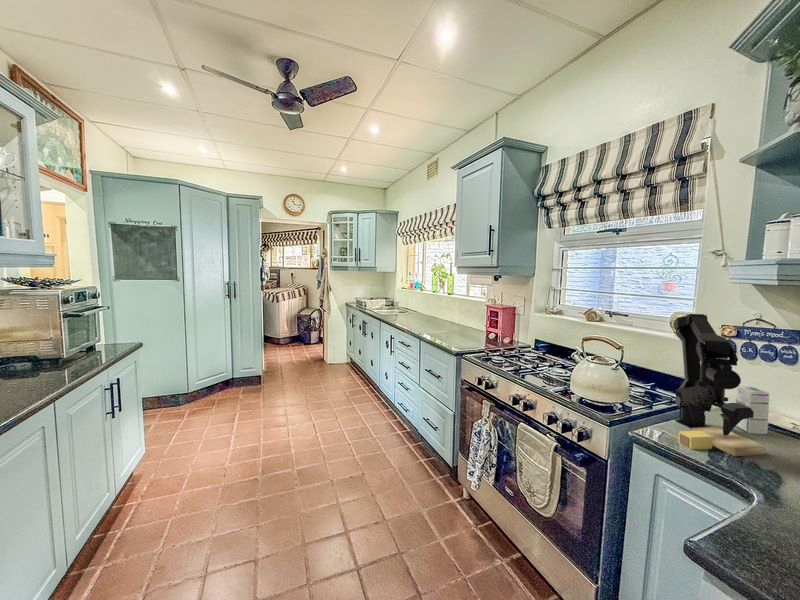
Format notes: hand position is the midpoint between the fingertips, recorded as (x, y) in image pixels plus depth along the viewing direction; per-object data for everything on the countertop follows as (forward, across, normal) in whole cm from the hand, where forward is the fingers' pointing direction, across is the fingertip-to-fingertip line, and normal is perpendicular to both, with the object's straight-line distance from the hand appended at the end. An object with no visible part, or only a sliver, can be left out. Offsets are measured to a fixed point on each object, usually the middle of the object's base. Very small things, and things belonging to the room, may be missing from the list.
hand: (709, 428), depth 101 cm
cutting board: (+6, 0, +6) cm, 8 cm away
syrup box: (+6, -8, +25) cm, 27 cm away
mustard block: (+4, 0, -1) cm, 4 cm away
